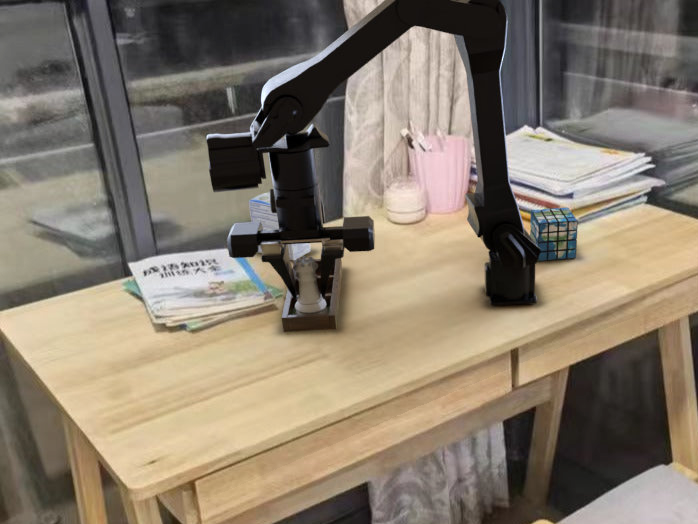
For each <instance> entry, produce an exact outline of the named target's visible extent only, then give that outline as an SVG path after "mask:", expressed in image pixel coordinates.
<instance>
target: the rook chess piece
mask: <svg viewBox="0 0 698 524" xmlns="http://www.w3.org/2000/svg"><path fill="white" fill-rule="evenodd" d="M306 259H307V256H305V255H304V256H302V259H301V257H300V258H298V259H296V265H295V266H294V270H295V271H296V272H297V273H298V277H297V280H298V281H299V297H298V298H297V300H298V301H297V302H296V304H295V309H296V312H295V314H296V315H303V314H323V313H327V311H328V310H327V308H326V305H327V304H326V302H325V300H324V299H323V297H322V295H320V292H319V289H318V285H317V277H318V276H317V275H316V269H317V268H318V264H317V263H316V262H315V259H316V258H314V257H313V256H311V255H310V256H308V259H309V260H306Z"/></svg>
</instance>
